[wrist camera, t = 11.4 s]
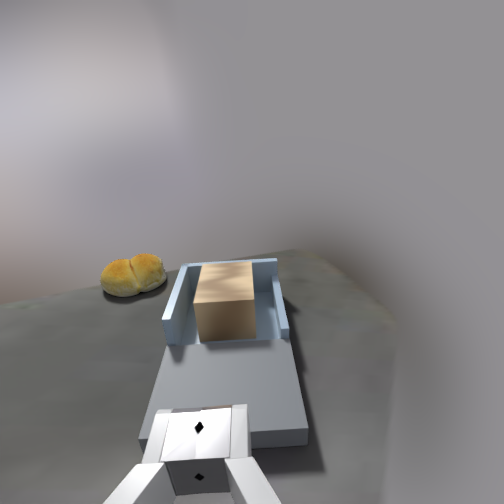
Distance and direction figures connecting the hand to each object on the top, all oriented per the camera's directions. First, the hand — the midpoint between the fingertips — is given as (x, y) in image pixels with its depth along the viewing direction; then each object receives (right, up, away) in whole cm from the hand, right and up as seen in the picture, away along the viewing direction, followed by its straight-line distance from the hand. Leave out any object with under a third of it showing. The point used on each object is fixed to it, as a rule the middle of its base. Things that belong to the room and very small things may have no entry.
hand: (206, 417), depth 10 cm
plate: (-1, -7, +16) cm, 17 cm away
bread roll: (-16, +1, +35) cm, 38 cm away
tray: (-1, -3, +25) cm, 25 cm away
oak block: (-1, -2, +20) cm, 20 cm away
